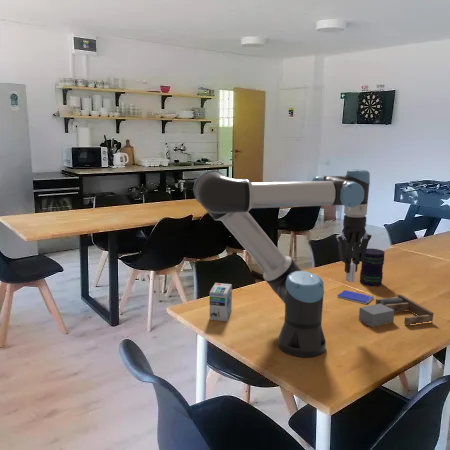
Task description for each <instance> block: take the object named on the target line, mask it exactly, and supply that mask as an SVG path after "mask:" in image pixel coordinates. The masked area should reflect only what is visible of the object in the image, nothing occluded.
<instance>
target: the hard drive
mask: <svg viewBox="0 0 450 450" xmlns="http://www.w3.org/2000/svg"><path fill="white" fill-rule="evenodd" d="M336 297H337V298H339V299H344V300H347V301H352V302H355V303H359V304H363V305H368V304H367V303H370V302H371V301H372V299H373V300H374V296H371V295H367V294H363V293H359V292H355V291H350V290H348V289H347V290H346V289H344V290H343V291H341V292H340V293H339V294H337V296H336Z"/></svg>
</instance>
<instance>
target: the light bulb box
mask: <svg viewBox="0 0 450 450" xmlns="http://www.w3.org/2000/svg"><path fill="white" fill-rule="evenodd" d="M232 295H233V284H231V283H220V282H214V285H213V286H212V287H211V289H210V291H209V320H212V321H222V322H227V321H228V320H229V317H230V316H231V315H230V314H231V313H232V309H233V308H232V306H233V305H232V302H233V301H232V298H233V296H232Z"/></svg>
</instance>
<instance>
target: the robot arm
mask: <svg viewBox="0 0 450 450" xmlns="http://www.w3.org/2000/svg"><path fill="white" fill-rule="evenodd" d="M370 179H371V175H370V172H369V171H368V170H366V169H357V168H356V169H354V168H353V169H348V170H347V171H346V175H317V176H314V177H313V178H312V180H309V181H308V180H307V181H306V180H305V181H272V182H270V181H269V182H268V181H266V182H263V181H262V182H251V181H249V179H247V178H246V179H245V178H232V177H229V176H226V175H225V174H223V173H222V172H220V171H218V170H207V171H204V172H202V173H201V174H199V175H198V176H197V177H196V179H195V181H194V184H193V191H192V192H193V195H194V198H195V200H196V201H197V202H198V203H199V204H200V205H201V206H202V207H203V209H205V210H206V212H207V213H208V214H209V216H211V218H212V219H213V220H214V221H221V222H222V223H223V225H224V226H225V228H226V229H228V231H229V232H230V233H231V234H232V235H233V236H234V238H235V239H236V240H237V242H238V243H239V244H240V245H241V246H242V247H243V249H244V250H245V251H246V252H247V253H248V254H249V256H250V257H251V258H252V259H253V261H254V262H255V263H256V264H257V265H258V266H259V268H260V269H261V270H262V271H263V275H262V277H263V279H264V281H265V282H266V283H267V284H268V285H269V286H270V288H271V290H272V291H273V292H274V293H275V294H276V295H277V296H278V297H279V298H280V300H281V301H282V303H284V305H285V306H284V322H283V325H282V327H281V328H280V329H281V330H280V332H279V334H278V338H277V347H278V348H279V349H280V350H281V351H282V352H284V353H285V354H288V355H290V356H294V357H299V358H314V357H318V356H320V355H322V354H323V353H325V351H326V347H327V346H326V345H327V342H326V341H327V340H326V338H325V334H324V330H323V325H322V320H323V319H322V317H323V306H324V304H323V303H324V296H325V295H324V294H325V288H324V287H325V285H324V281H323V279H322V278H321V277H320V276H319V275H317V274H316V273H312V272H309V271H305V270H304V271H303V270H301V268H300V267H299V266H298V264H296V262H295V261H294V259H293V258H292V257H291V256H290V255H284V254H283V253H282V252H281V251H280V250H279V248H278V247H277V246H276V245H275V244H274V242H273V241H272V240H271V238H270V237H269V235H267V233H266V232H265V231H264V230H263V229H262V227H261V226H260V225H259V223H258V222H257V221H256V220H255V218H254V217H253V216H252V214H251V213H249V211H250V210H252V209H267V208H293V207H294V208H295V207H296V208H299V207H321V206H323V207H324V206H344V207H343V209H344V210H343V214H344V215H343V223H342V226H343V229H342V231H341V233H339V234H336V235H335V237H334V238H335V239H336V241H337V247H338V255H339V260H340V262H342V263H344V272H345V281H347V282H349V283H355V281H356V273H357V272H358V266H359V265H360V263H362V261H363V260H364V256H365V253H366V249H368V245H369V242H370V240H371V239H372V234H370V233H368V232H367V230H366V225H367V213H368V204H369V193H370V192H369V191H370V185H371V184H370V183H371V182H370V181H371V180H370Z"/></svg>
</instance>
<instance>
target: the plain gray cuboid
mask: <svg viewBox="0 0 450 450" xmlns="http://www.w3.org/2000/svg"><path fill="white" fill-rule="evenodd" d="M358 313H359V314H358V321H361V323H364V324H365V325H367V326H370V327H371V328H375V327H379V326H378V325H380V326H383V325H382V324H384V325H387V324H386V323H389V324H391V323H390V322H393V323H394V320H395V312H394V310H393V309H391V308H389V307H387V306H385V305H383V304H381V303H380V304H376V303H375V304H372V305H371V304H370V305H365V306H360V307H359V312H358ZM374 326H375V327H374Z"/></svg>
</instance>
